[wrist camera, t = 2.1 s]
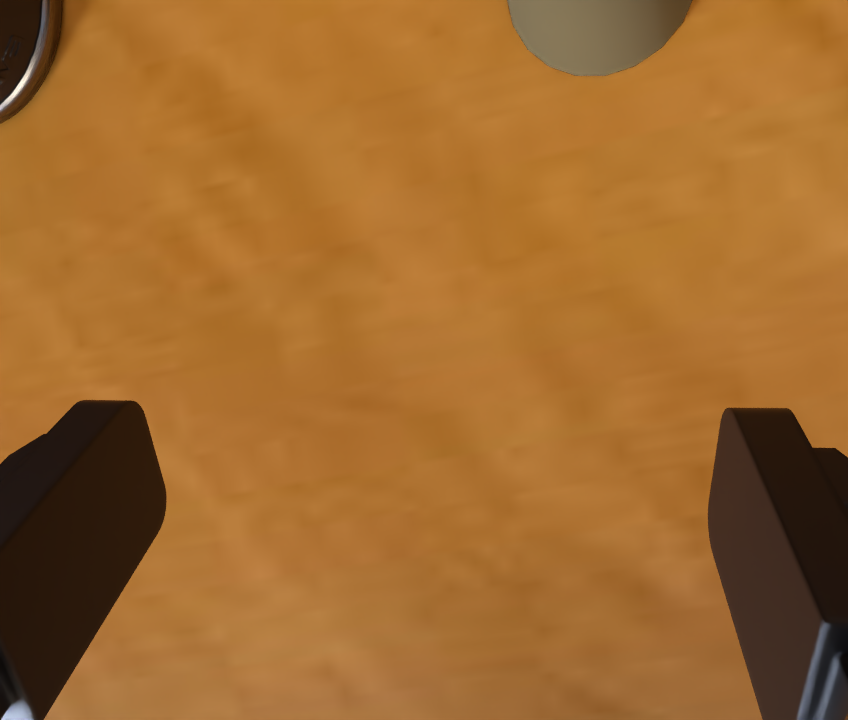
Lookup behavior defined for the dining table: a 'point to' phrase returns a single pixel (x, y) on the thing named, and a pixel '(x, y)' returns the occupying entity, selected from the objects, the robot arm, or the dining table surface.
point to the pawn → (596, 31)
